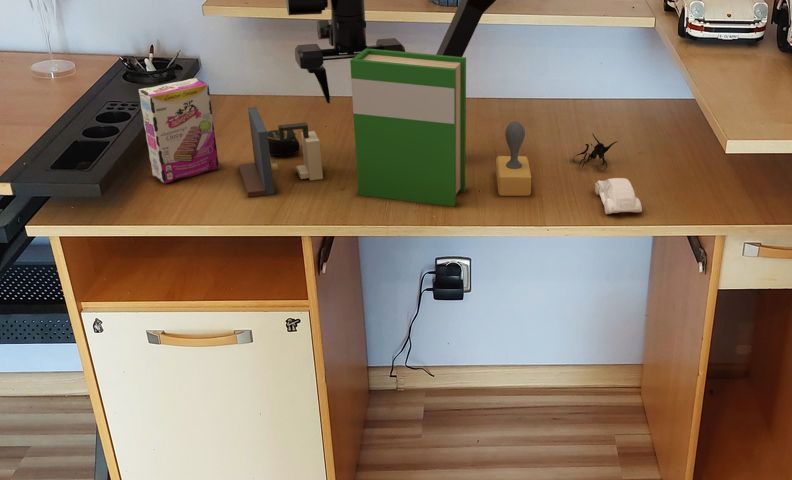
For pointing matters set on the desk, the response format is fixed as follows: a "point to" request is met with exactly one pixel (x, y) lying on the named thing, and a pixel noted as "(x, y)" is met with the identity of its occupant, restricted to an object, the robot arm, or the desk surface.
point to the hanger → (307, 151)
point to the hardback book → (409, 125)
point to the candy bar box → (179, 129)
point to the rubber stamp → (513, 165)
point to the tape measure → (282, 142)
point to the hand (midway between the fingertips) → (353, 100)
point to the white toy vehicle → (618, 196)
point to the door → (258, 160)
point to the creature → (596, 152)
